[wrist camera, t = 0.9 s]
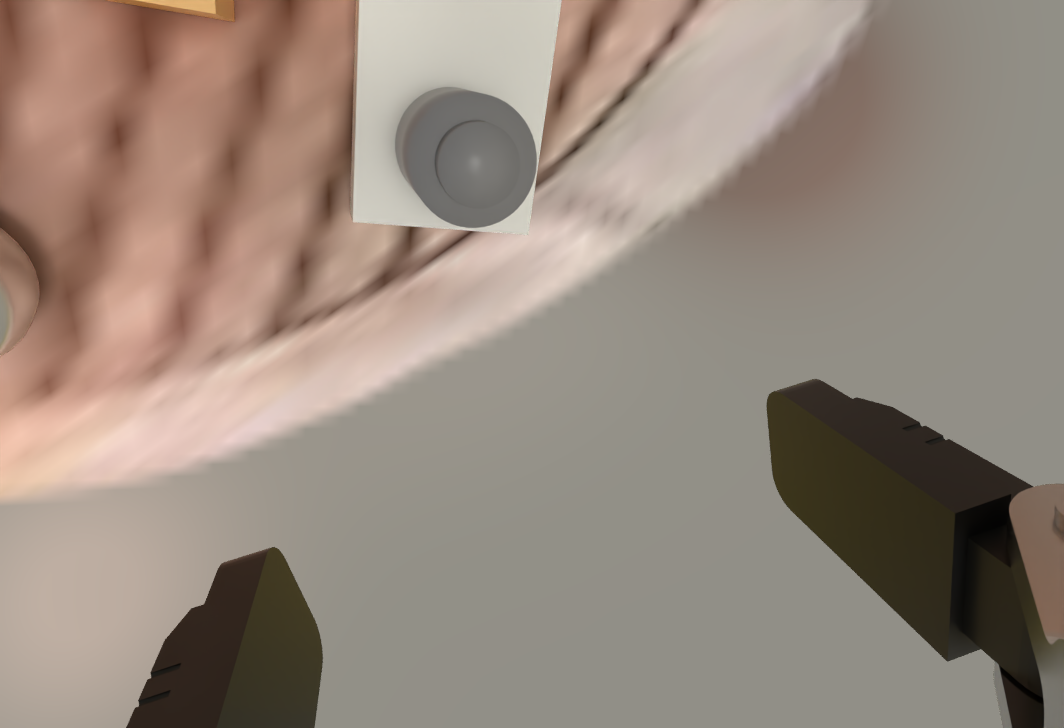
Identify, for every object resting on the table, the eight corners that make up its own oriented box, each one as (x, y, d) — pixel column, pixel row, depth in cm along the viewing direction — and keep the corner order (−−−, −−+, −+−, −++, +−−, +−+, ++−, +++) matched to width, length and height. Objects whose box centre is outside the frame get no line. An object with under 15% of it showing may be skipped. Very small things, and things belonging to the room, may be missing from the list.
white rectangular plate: (349, 211, 29) (352, 221, 27) (360, -170, 23) (364, -187, 21) (516, 225, 31) (527, 235, 30) (561, -114, 26) (579, -125, 24)
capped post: (391, 199, 27) (408, 228, 23) (398, 78, 25) (418, 84, 21) (498, 208, 29) (533, 237, 24) (512, 95, 27) (552, 104, 22)
